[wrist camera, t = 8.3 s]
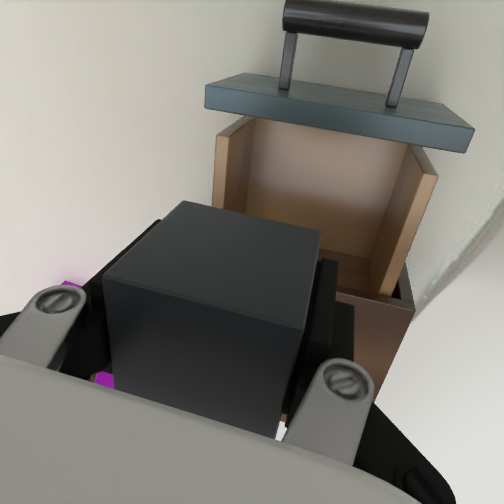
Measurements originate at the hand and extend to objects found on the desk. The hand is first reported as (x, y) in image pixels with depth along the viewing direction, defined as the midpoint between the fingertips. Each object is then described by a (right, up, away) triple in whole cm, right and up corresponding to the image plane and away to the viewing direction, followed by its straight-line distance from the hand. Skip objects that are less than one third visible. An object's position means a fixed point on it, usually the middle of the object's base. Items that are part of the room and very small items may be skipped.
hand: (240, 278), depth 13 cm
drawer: (+6, +9, +14) cm, 18 cm away
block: (0, 0, 0) cm, 0 cm away
